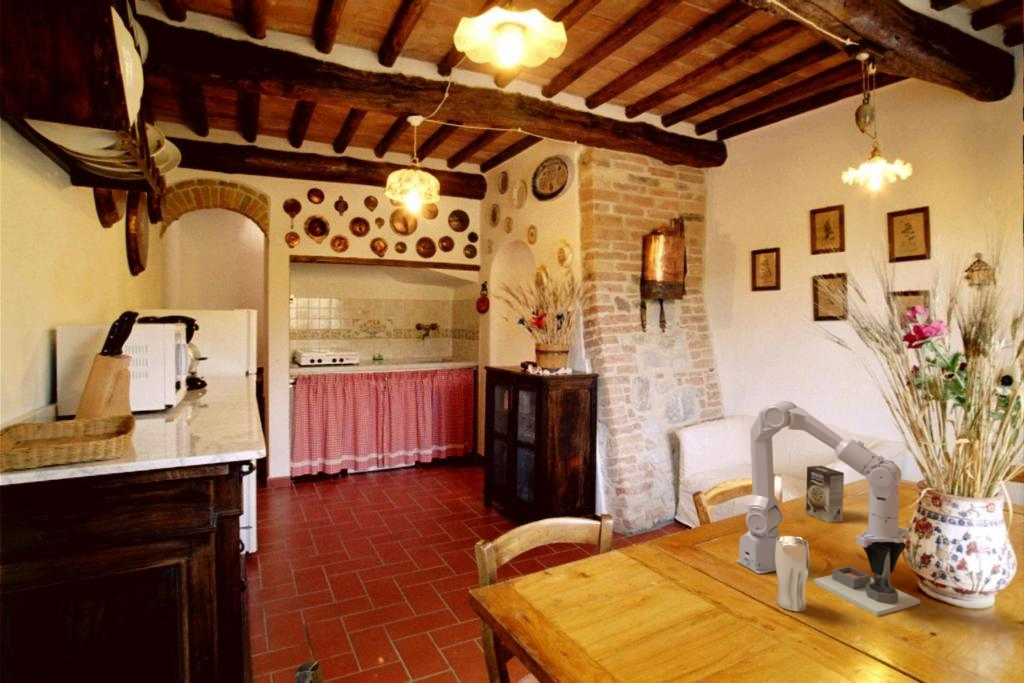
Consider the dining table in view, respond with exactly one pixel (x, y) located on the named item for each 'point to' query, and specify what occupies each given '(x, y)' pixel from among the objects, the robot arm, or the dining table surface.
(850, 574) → the button
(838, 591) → the panel
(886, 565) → the metal cylinder
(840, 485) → the coffee box
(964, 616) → the dining table surface
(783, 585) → the beer glass
